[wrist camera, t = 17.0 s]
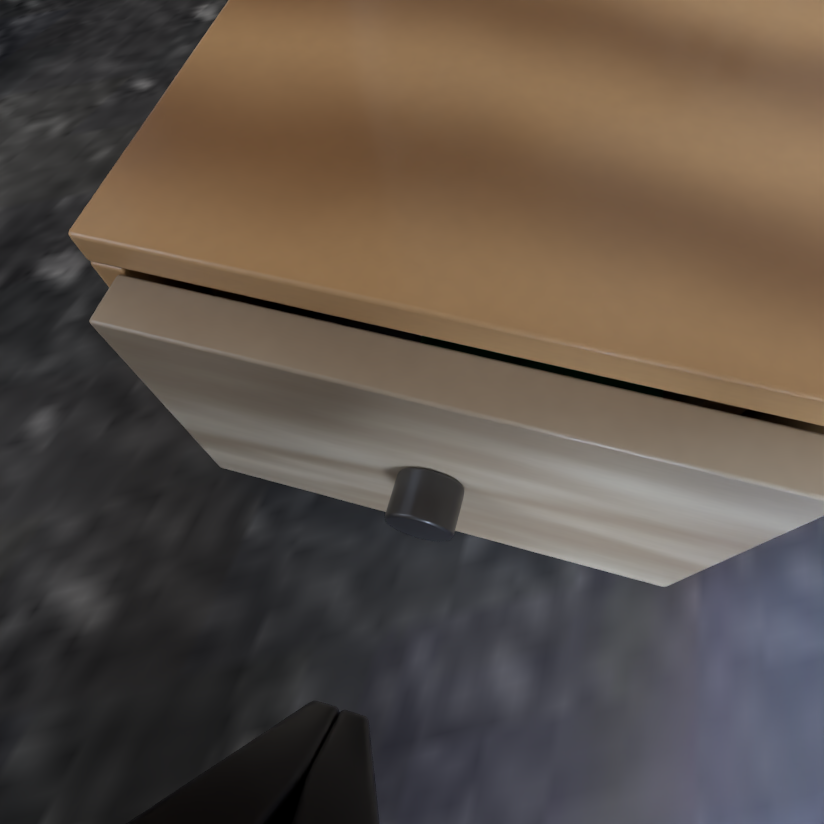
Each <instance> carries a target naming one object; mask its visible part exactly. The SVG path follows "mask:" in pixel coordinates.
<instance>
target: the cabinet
mask: <svg viewBox="0 0 824 824" xmlns="http://www.w3.org/2000/svg"><path fill="white" fill-rule="evenodd" d="M69 236H70V238H71V239H72V240H73V242H74V243H75V244H76V245H77V247H78V248H79V249H80V251H81V252H82V253H83V254H84V256H85V257H86V258H87V259H88V260H90V261H91V265H92V266H93V267H94V269H95V270H96V271H97V272H98V274H99V275H100V276H101V278H102V279H103V280H104V281H105V283H106V284H107V285H108V287H109V288H110V286H111V284H112V283H113V281H114V280H115V278H116V276H118V275H125V276H129V277H134V278H138V279H143V280H147V281H151V282H156V283H160V284H165V285H169V286H173V287H178V288H182V289H187V290H191V291H195V292H200V293H204V294H209V295H213V296H215V295H214V293H213V291H212V289H211V288H213V289H217V290H221V291H226V292H230V293H235V294H239V295H244V296H248V297H252V298H257V299H261V300H266V301H270V302H275V303H279V304H284V305H288V306H292V307H297V308H301V309H306V310H310V311H315V312H319V313H323V314H328V315H332V316H337V317H341V318H346V319H350V320H354V321H359V322H363V323H368V324H372V325H377V326H381V327H386V328H390V329H394V330H399V331H403V332H408V333H412V334H417V335H421V336H425V337H430V338H434V339H439V340H443V341H448V342H452V343H457V344H461V345H465V346H470V347H474V348H479V349H483V350H488V351H492V352H496V353H501V354H505V355H510V356H514V357H519V358H523V359H527V360H532V361H536V362H541V363H545V364H550V365H554V366H559V367H563V368H567V369H572V370H576V371H581V372H585V373H590V374H594V375H598V376H603V377H607V378H612V379H616V380H621V381H625V382H630V383H634V384H638V385H643V386H647V387H652V388H656V389H661V390H665V391H669V392H674V393H678V394H683V395H687V396H692V397H696V398H701V399H705V400H709V401H714V402H718V403H723V404H727V405H732V406H736V407H740V408H745V409H746V410H745V411H744V412H743V413H742V414H741V416H746V417H750V418H754V419H759V420H763V421H768V422H772V423H776V424H781V425H785V426H790V427H794V428H798V429H803V430H807V431H812V432H816V433H820V434H824V0H228V2H227V3H226V5H225V6H224V8H223V9H222V10H221V12H220V13H219V15H218V16H217V18H216V19H215V21H214V22H213V23H212V25H211V26H210V28H209V29H208V31H207V32H206V34H205V35H204V36H203V38H202V39H201V41H200V42H199V44H198V45H197V47H196V48H195V49H194V51H193V52H192V54H191V55H190V57H189V58H188V60H187V61H186V62H185V64H184V65H183V67H182V68H181V70H180V71H179V73H178V74H177V75H176V77H175V78H174V80H173V81H172V83H171V84H170V86H169V87H168V88H167V90H166V91H165V93H164V94H163V96H162V97H161V99H160V100H159V101H158V103H157V104H156V106H155V107H154V109H153V110H152V112H151V113H150V114H149V116H148V117H147V119H146V120H145V122H144V123H143V125H142V126H141V127H140V129H139V130H138V132H137V133H136V135H135V136H134V138H133V139H132V140H131V142H130V143H129V145H128V146H127V148H126V149H125V151H124V152H123V153H122V155H121V156H120V158H119V159H118V161H117V162H116V164H115V165H114V166H113V168H112V169H111V171H110V172H109V174H108V175H107V177H106V178H105V179H104V181H103V182H102V184H101V185H100V187H99V188H98V190H97V191H96V192H95V194H94V195H93V197H92V198H91V200H90V201H89V203H88V204H87V205H86V207H85V208H84V210H83V211H82V213H81V214H80V216H79V217H78V218H77V220H76V221H75V223H74V224H73V226H72V227H71V229H70V230H69Z"/></svg>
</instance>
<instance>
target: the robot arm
mask: <svg viewBox="0 0 824 824" xmlns="http://www.w3.org/2000/svg"><path fill="white" fill-rule="evenodd" d="M127 824H379V814H378V804H377V795H376V785H375V775H374V766H373V756H372V747H371V737H370V727H369V720H368V718H367V717H365V716H363V715H360V714H357V713H354V712H351V711H348V710H343V711H341V712H340V713H339V709H338V708H337V707H335V706H332V705H328V704H325V703H322V702H319V701H312V702H310V703H308V704H307V705H305V706H304V707H302V708H301V709H299V710H298V711H296V712H295V713H293V714H292V715H290V716H288V717H287V718H285V719H284V720H282V721H281V722H279V723H278V724H276V725H275V726H273V727H272V728H270V729H269V730H267V731H266V732H264V733H263V734H261V735H260V736H258V737H257V738H255V739H254V740H252V741H251V742H249V743H248V744H246V745H245V746H243V747H242V748H240V749H239V750H237V751H236V752H234V753H233V754H231V755H229V756H228V757H226V758H225V759H223V760H222V761H220V762H219V763H217V764H216V765H214V766H213V767H211V768H210V769H208V770H207V771H205V772H204V773H202V774H201V775H199V776H198V777H196V778H195V779H193V780H192V781H190V782H189V783H187V784H186V785H184V786H183V787H181V788H180V789H178V790H177V791H175V792H174V793H172V794H170V795H169V796H167V797H166V798H164V799H163V800H161V801H160V802H158V803H157V804H155V805H154V806H152V807H151V808H149V809H148V810H146V811H145V812H143V813H142V814H140V815H139V816H137V817H136V818H134V819H133V820H131V821H130V822H128V823H127Z"/></svg>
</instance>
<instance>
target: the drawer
mask: <svg viewBox="0 0 824 824" xmlns="http://www.w3.org/2000/svg"><path fill="white" fill-rule="evenodd" d="M211 289H212V291H213V293H214V295H215V296H213V295H209V294H204V293H200V292H195V291H191V290H187V289H182V288H178V287H173V286H169V285H165V284H160V283H156V282H151V281H147V280H143V279H138V278H134V277H129V276H125V275H118V276H116V278H115V280H114V281H113V283H112V284H111V286H110V288H109V289H108V291H107V293H106V294H105V296H104V297H103V299H102V301H101V302H100V304H99V305H98V307H97V309H96V310H95V312H94V313H93V315H92V317H91V318H90V324H91V325H92V326H93V327H94V328H95V329H96V330H97V331H98V333H99V334H100V335H101V336H102V337H103V338H104V339H105V340H106V341H107V342H108V344H109V345H110V346H111V347H112V348H113V349H114V350H115V351H116V352H117V354H118V355H119V356H120V357H121V358H122V359H123V360H124V361H125V362H126V363H127V365H128V366H129V367H130V368H131V369H132V370H133V371H134V372H135V373H136V375H137V376H138V377H139V378H140V379H141V380H142V381H143V382H144V383H145V385H146V386H147V387H148V388H149V389H150V390H151V391H152V392H153V393H154V394H155V396H156V397H157V398H158V399H159V400H160V401H161V402H162V403H163V404H164V406H165V407H166V408H167V409H168V410H169V411H170V412H171V413H172V414H173V415H174V417H175V418H176V419H177V420H178V421H179V422H180V423H181V424H182V425H183V427H184V428H185V429H186V430H187V431H188V432H189V433H190V434H191V435H192V437H193V438H194V439H195V440H196V441H197V442H198V443H199V444H200V445H201V446H202V448H203V449H204V450H205V451H206V452H207V453H208V454H209V455H210V456H211V458H212V459H213V460H214V461H215V462H216V463H217V464H218V465H219V466H220V467H221V468H225V469H229V470H232V471H236V472H240V473H244V474H247V475H251V476H255V477H258V478H262V479H266V480H269V481H273V482H277V483H281V484H284V485H288V486H292V487H295V488H299V489H303V490H306V491H310V492H314V493H318V494H321V495H325V496H329V497H332V498H336V499H340V500H343V501H347V502H351V503H355V504H358V505H362V506H366V507H369V508H373V509H377V510H380V511H384V512H386V513H385V521H386V522H387V523H388V524H389V525H390V526H392V527H393V528H395V529H396V530H398V531H400V532H403V533H405V534H408V535H411V536H414V537H417V538H421V539H425V540H430V541H449V540H451V539H452V538H453V536H454V533H455V531H458V532H462V533H466V534H469V535H473V536H477V537H480V538H484V539H488V540H492V541H495V542H499V543H503V544H506V545H510V546H514V547H517V548H521V549H525V550H529V551H532V552H536V553H540V554H543V555H547V556H551V557H554V558H558V559H562V560H566V561H569V562H573V563H577V564H580V565H584V566H588V567H591V568H595V569H599V570H603V571H606V572H610V573H614V574H617V575H621V576H625V577H628V578H632V579H636V580H640V581H643V582H647V583H651V584H654V585H658V586H662V587H666V586H669V585H671V584H673V583H675V582H678V581H680V580H682V579H684V578H687V577H689V576H691V575H693V574H696V573H698V572H700V571H702V570H704V569H707V568H709V567H711V566H713V565H716V564H718V563H720V562H722V561H725V560H727V559H729V558H731V557H734V556H736V555H738V554H740V553H742V552H745V551H747V550H749V549H751V548H754V547H756V546H758V545H760V544H763V543H765V542H767V541H769V540H772V539H774V538H776V537H778V536H780V535H783V534H785V533H787V532H789V531H792V530H794V529H796V528H798V527H801V526H803V525H805V524H807V523H810V522H812V521H814V520H816V519H818V518H821V517H823V516H824V434H820V433H816V432H812V431H807V430H803V429H798V428H794V427H790V426H785V425H781V424H776V423H772V422H768V421H763V420H759V419H754V418H750V417H746V416H741V414H742V413H743V412H744V411H745V410H746V409H745V408H740V407H736V406H732V405H727V404H723V403H718V402H714V401H709V400H705V399H701V398H696V397H692V396H687V395H683V394H678V393H674V392H669V391H665V390H664V391H663V398H662V397H658V396H653V395H649V394H644V393H640V392H636V391H631V390H627V389H622V388H618V387H614V386H609V385H605V384H600V383H596V382H592V381H587V380H583V379H578V378H574V377H570V376H565V375H561V374H556V373H552V372H547V371H543V370H539V369H534V368H530V367H525V366H521V365H517V364H512V363H508V362H503V361H499V360H495V359H490V358H486V357H481V356H477V355H473V354H468V353H464V352H459V351H455V350H451V349H446V348H442V347H437V346H433V345H429V344H424V343H420V342H415V341H411V340H407V339H402V338H398V337H393V336H389V335H385V334H380V333H376V332H371V331H367V330H363V329H358V328H354V327H349V326H345V325H341V324H336V323H332V322H327V321H323V320H319V319H314V316H315V314H316V312H315V311H310V310H306V309H301V308H297V307H292V306H288V305H284V304H279V303H275V302H270V301H266V300H261V299H257V298H252V297H248V296H244V295H239V294H235V293H230V292H226V291H221V290H217V289H213V288H211Z"/></svg>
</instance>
